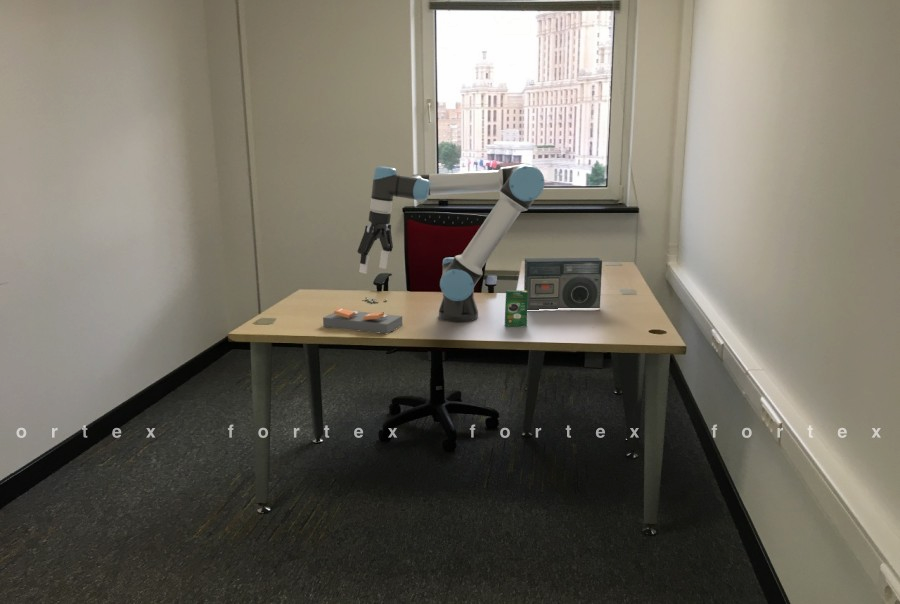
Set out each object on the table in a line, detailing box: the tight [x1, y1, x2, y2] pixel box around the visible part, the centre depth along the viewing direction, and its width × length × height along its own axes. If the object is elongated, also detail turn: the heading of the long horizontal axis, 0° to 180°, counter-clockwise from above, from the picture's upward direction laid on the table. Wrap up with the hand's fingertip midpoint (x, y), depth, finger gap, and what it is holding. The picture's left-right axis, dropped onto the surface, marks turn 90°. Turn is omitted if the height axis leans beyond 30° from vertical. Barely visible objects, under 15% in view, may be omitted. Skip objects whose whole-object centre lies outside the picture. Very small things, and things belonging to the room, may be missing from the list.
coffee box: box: [504, 289, 528, 327], centre depth 242 cm, size 8×3×13 cm, turn 89°
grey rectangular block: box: [322, 310, 403, 334], centre depth 244 cm, size 26×12×4 cm, turn 68°
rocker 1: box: [333, 307, 355, 318], centre depth 243 cm, size 6×4×1 cm
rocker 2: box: [363, 312, 385, 320], centre depth 239 cm, size 6×4×1 cm
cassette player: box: [523, 257, 603, 310], centre depth 264 cm, size 29×7×20 cm, turn 91°
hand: (373, 270), depth 239 cm, fingers open, 13 cm apart
